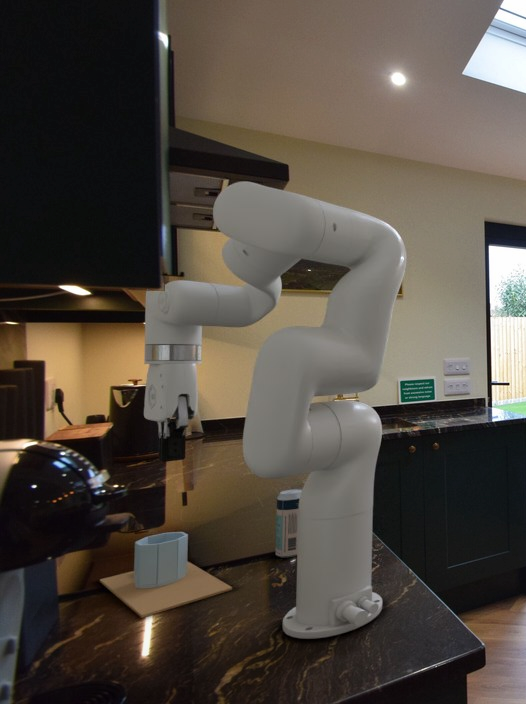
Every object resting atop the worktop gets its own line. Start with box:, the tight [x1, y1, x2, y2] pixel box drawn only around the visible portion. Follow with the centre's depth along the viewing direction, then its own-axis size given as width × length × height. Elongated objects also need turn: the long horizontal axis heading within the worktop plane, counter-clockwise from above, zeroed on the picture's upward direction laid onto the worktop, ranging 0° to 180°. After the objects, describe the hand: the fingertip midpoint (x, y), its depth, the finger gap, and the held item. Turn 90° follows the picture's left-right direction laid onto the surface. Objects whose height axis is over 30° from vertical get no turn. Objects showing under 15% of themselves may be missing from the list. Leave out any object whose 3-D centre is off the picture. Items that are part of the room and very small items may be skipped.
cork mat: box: [99, 560, 233, 619], centre depth 86 cm, size 22×11×1 cm, turn 57°
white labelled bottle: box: [275, 488, 303, 559], centre depth 101 cm, size 5×5×12 cm
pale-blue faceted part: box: [133, 531, 189, 588], centre depth 89 cm, size 7×6×11 cm
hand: (171, 460), depth 91 cm, fingers closed
